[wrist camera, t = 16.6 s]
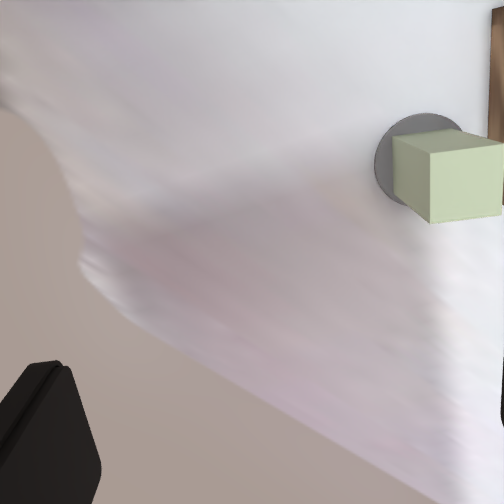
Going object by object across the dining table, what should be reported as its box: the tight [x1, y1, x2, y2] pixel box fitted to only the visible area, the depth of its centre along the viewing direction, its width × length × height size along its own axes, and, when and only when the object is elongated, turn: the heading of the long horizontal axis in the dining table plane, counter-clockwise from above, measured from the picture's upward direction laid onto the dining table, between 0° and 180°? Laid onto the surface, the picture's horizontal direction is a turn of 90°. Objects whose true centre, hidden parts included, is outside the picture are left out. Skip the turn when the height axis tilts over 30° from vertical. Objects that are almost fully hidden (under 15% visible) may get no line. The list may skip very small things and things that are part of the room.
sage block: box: [392, 128, 504, 224], centre depth 37 cm, size 5×5×9 cm
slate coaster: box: [375, 113, 462, 206], centre depth 42 cm, size 8×8×1 cm
